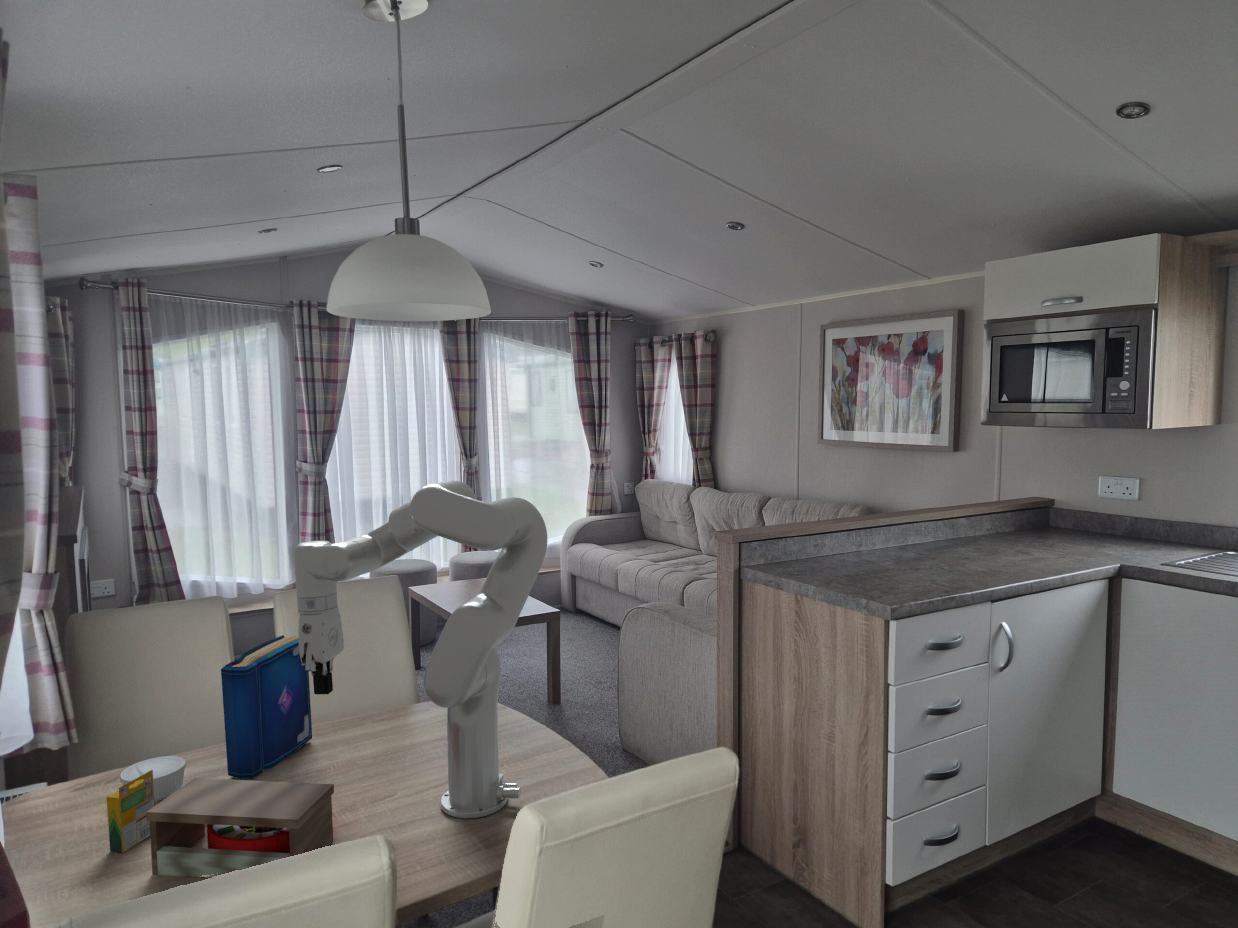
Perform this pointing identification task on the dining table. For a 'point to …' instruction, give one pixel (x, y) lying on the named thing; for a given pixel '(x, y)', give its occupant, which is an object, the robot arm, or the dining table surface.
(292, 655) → the book
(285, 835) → the toy clock
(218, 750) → the dining table surface
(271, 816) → the walnut overhang
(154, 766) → the ramekin
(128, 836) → the crayon box
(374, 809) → the dining table surface
